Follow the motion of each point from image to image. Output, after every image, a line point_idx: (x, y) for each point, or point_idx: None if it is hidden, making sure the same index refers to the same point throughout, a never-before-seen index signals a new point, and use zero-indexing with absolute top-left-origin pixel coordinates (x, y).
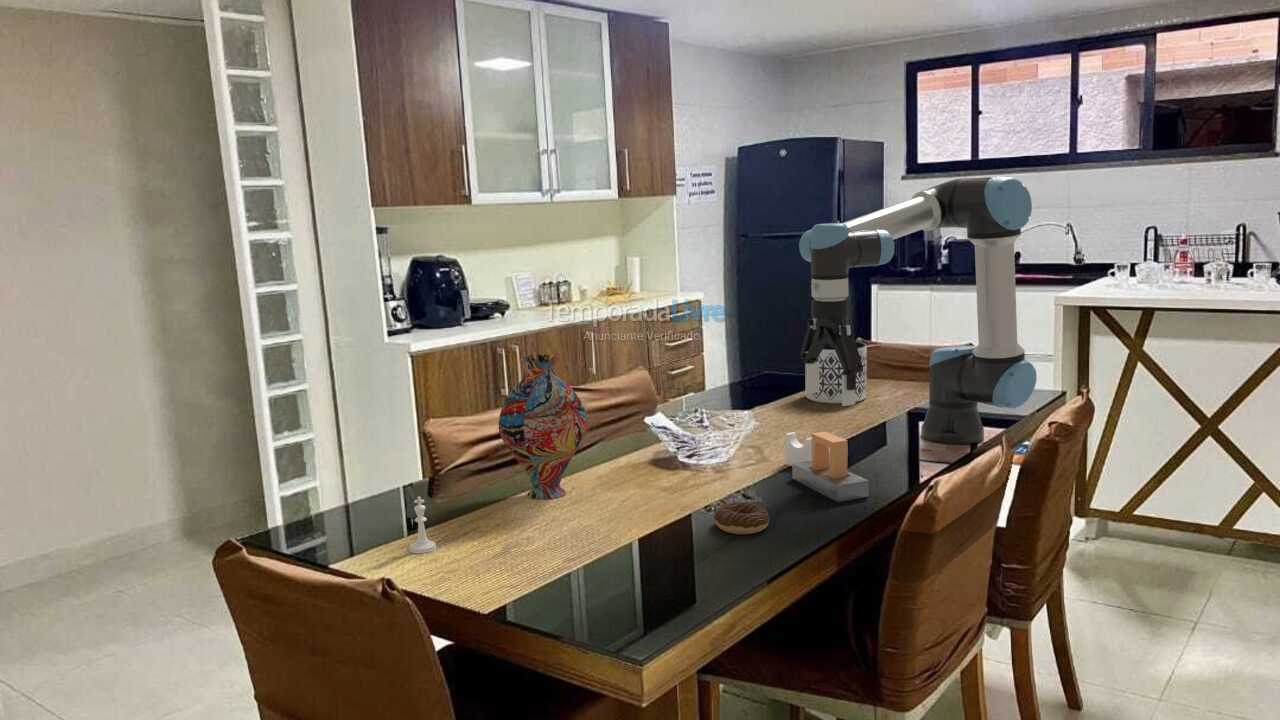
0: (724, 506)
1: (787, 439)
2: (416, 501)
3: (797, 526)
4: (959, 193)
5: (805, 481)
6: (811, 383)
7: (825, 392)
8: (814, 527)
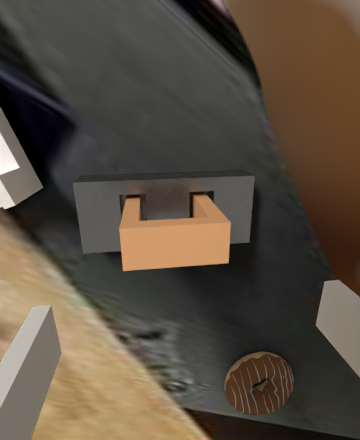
0: (247, 410)
1: None
2: None
3: (289, 320)
4: None
5: None
6: (41, 381)
7: None
8: (304, 304)
